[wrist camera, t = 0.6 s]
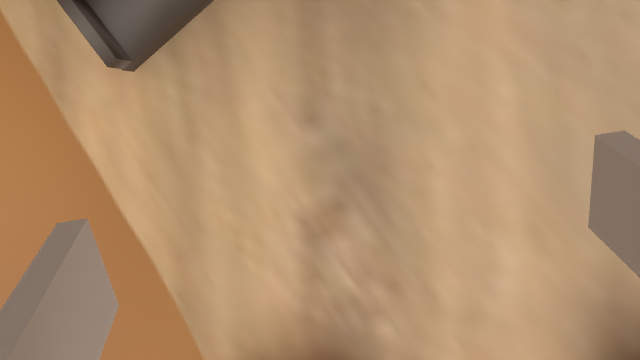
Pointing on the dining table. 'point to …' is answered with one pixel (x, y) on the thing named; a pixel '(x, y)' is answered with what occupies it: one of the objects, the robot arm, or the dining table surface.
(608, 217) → the robot arm
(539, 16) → the dining table surface
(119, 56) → the grey compartment tray
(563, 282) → the dining table surface
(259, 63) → the dining table surface
